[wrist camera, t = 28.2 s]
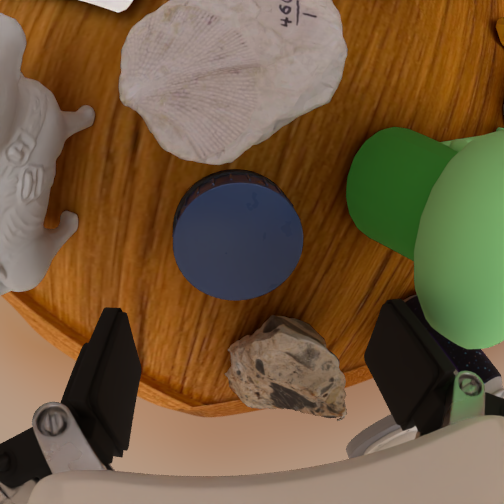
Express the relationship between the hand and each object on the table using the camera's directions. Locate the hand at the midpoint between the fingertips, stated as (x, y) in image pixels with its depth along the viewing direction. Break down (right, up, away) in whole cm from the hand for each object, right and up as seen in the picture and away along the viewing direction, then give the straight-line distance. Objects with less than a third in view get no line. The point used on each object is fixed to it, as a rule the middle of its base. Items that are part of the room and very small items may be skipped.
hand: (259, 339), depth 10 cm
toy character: (+13, +9, +8) cm, 17 cm away
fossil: (-1, +13, +3) cm, 13 cm away
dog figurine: (-12, +9, +4) cm, 16 cm away
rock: (+1, -4, +13) cm, 13 cm away
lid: (-1, +4, +6) cm, 7 cm away
